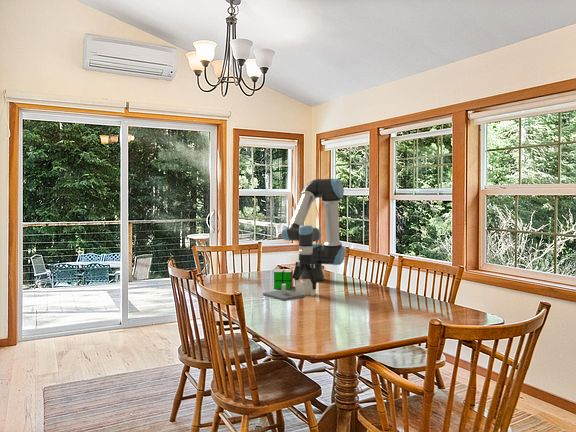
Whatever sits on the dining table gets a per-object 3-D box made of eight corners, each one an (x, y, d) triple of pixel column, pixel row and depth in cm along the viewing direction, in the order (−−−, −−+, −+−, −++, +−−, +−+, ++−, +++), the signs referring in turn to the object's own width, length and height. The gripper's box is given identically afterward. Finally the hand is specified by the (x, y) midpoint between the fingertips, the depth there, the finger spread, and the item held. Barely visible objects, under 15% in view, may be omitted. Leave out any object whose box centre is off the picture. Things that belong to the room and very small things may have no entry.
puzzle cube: (292, 286, 272) (292, 269, 272) (291, 289, 262) (291, 272, 262) (276, 285, 273) (276, 269, 273) (273, 289, 263) (274, 271, 263)
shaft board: (284, 291, 256) (284, 280, 256) (304, 296, 243) (304, 285, 243) (262, 295, 246) (262, 283, 246) (283, 300, 233) (283, 288, 233)
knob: (307, 292, 255) (307, 277, 255) (314, 293, 251) (314, 278, 251) (296, 293, 250) (296, 278, 250) (303, 295, 246) (303, 280, 246)
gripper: (286, 252, 256) (285, 290, 257) (316, 256, 238) (315, 297, 239) (296, 251, 261) (295, 289, 262) (326, 255, 243) (325, 296, 244)
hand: (305, 293), depth 251 cm, fingers open, 11 cm apart
